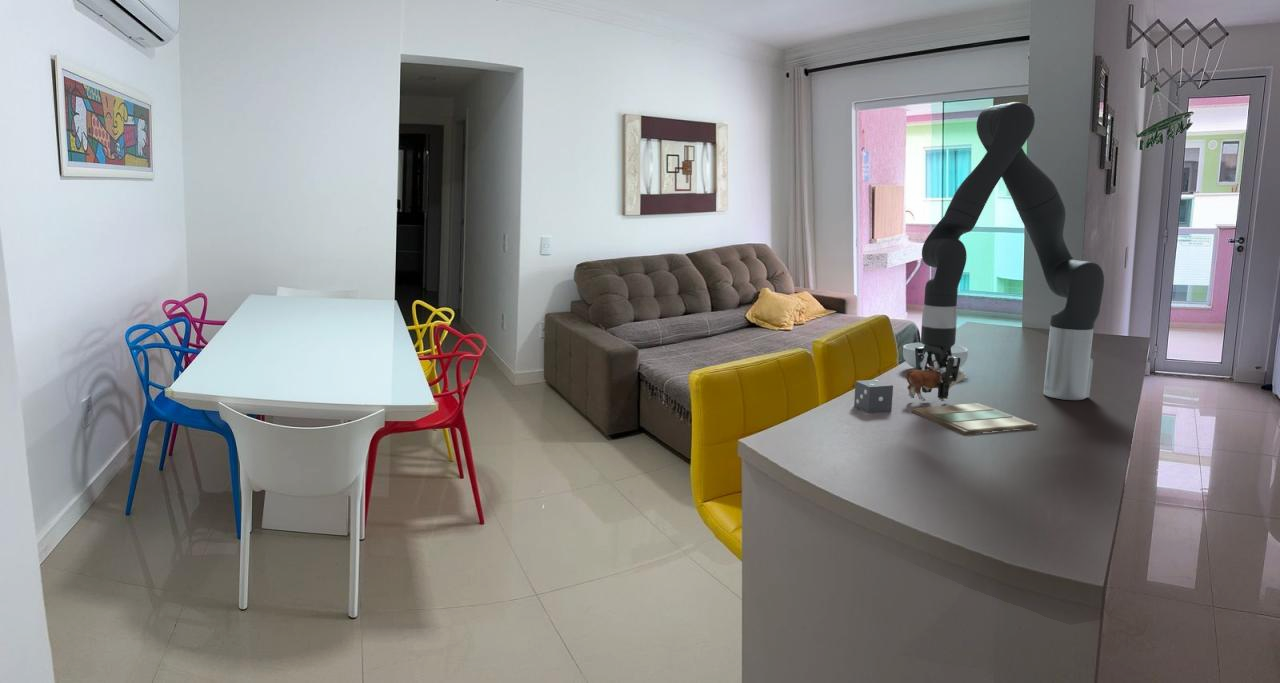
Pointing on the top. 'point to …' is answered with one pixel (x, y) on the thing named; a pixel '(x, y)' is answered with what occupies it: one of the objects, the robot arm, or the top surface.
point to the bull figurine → (928, 381)
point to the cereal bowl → (910, 348)
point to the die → (873, 396)
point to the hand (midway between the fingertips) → (934, 394)
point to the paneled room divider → (972, 418)
